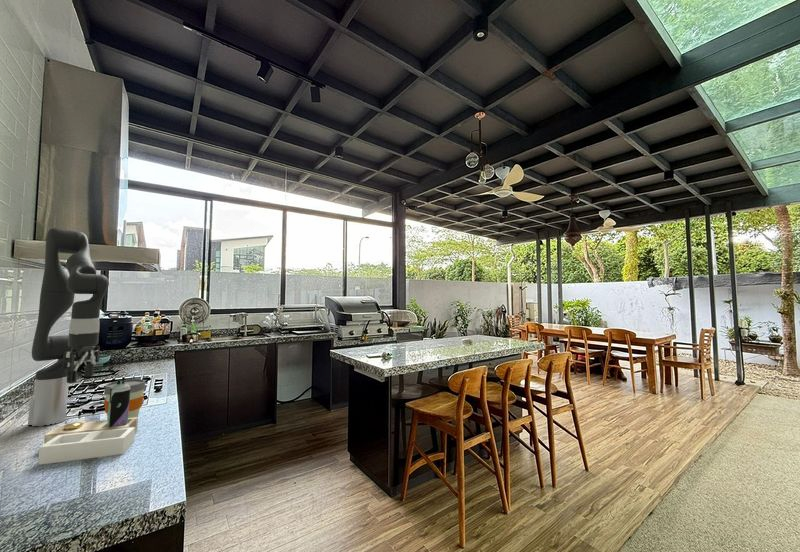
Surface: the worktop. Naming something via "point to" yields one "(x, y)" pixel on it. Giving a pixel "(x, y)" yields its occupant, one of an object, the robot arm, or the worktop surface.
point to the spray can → (119, 404)
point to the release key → (73, 426)
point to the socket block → (89, 428)
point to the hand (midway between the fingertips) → (80, 379)
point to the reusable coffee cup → (135, 396)
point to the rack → (86, 445)
